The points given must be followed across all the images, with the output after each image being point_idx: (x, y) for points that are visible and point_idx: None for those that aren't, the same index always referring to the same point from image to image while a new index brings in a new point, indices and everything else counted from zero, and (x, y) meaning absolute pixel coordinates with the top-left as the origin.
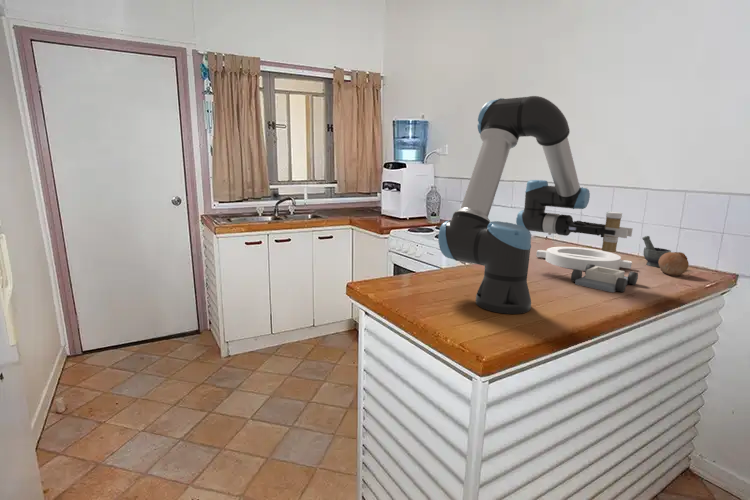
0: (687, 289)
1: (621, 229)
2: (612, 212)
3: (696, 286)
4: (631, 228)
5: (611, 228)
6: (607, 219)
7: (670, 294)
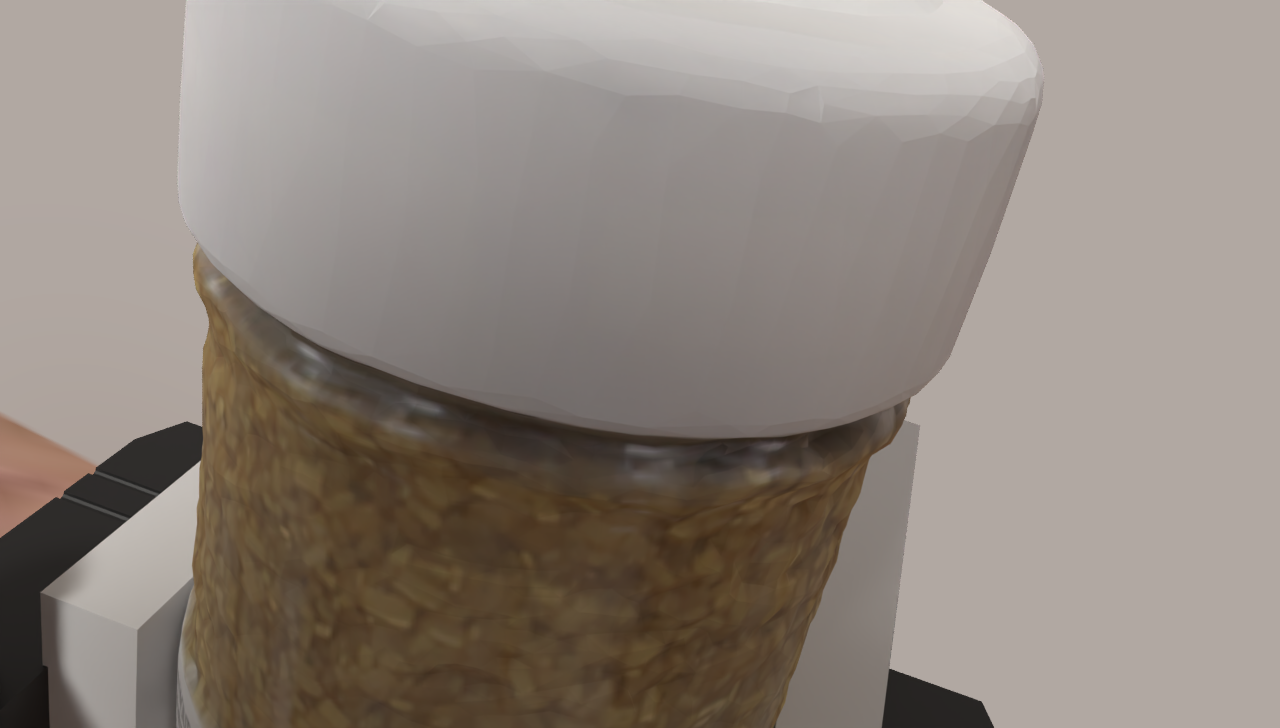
0: None
1: (907, 509)
2: (942, 6)
3: (29, 445)
4: None
5: (880, 723)
6: (766, 524)
7: None
